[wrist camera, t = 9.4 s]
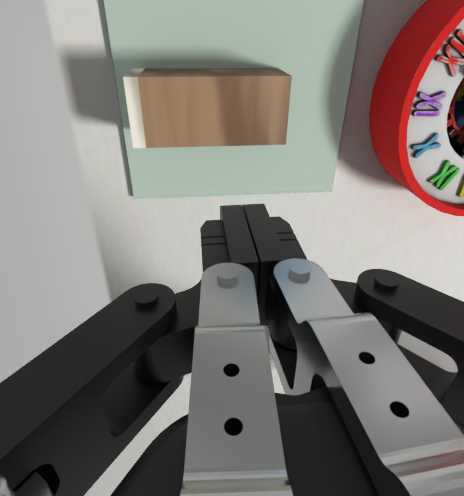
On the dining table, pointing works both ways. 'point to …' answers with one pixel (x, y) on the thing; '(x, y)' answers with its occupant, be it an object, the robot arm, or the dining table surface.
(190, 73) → the wooden block
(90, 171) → the dining table surface
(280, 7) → the mat
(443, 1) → the toy clock
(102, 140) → the dining table surface
